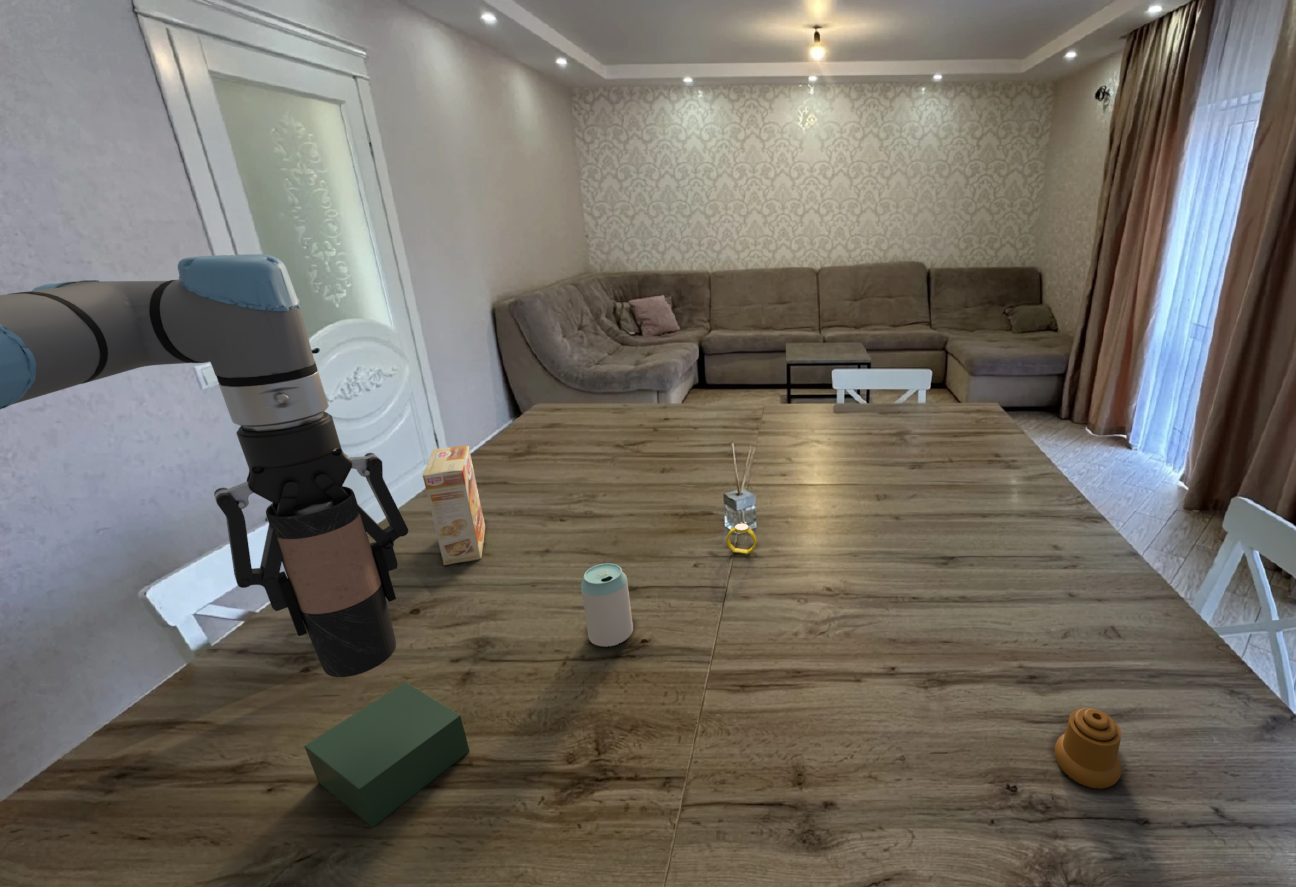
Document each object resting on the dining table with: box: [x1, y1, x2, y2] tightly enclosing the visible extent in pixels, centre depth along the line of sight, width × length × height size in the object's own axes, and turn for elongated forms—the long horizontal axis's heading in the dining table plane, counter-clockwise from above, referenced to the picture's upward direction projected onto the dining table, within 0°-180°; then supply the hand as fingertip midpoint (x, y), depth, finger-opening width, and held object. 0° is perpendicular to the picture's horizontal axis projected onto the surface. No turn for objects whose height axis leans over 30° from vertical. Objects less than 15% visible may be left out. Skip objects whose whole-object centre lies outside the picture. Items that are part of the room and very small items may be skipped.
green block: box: [303, 681, 470, 828], centre depth 75 cm, size 12×12×6 cm
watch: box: [725, 523, 758, 555], centre depth 122 cm, size 6×3×6 cm, turn 82°
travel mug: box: [265, 485, 397, 678], centre depth 67 cm, size 8×8×20 cm
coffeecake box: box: [421, 445, 486, 566], centre depth 123 cm, size 15×7×20 cm, turn 22°
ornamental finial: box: [1054, 707, 1123, 790], centre depth 74 cm, size 8×8×8 cm
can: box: [580, 562, 634, 648], centre depth 97 cm, size 7×7×12 cm
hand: (346, 611), depth 68 cm, fingers closed on travel mug, 8 cm apart
